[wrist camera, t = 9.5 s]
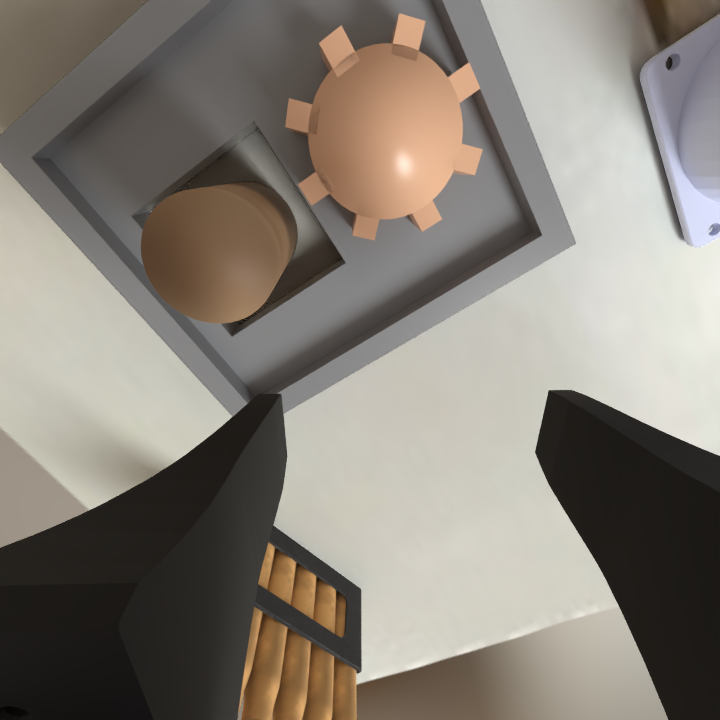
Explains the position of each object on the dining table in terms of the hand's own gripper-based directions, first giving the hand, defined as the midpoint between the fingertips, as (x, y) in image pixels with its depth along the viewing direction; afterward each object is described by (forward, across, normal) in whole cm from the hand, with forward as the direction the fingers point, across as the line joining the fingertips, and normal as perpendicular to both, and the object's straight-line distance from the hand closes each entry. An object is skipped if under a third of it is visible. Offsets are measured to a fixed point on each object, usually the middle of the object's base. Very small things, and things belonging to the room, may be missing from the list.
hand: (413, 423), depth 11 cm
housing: (+9, +4, -5) cm, 11 cm away
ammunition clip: (+9, +5, +16) cm, 19 cm away
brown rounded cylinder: (+9, +6, -4) cm, 12 cm away
